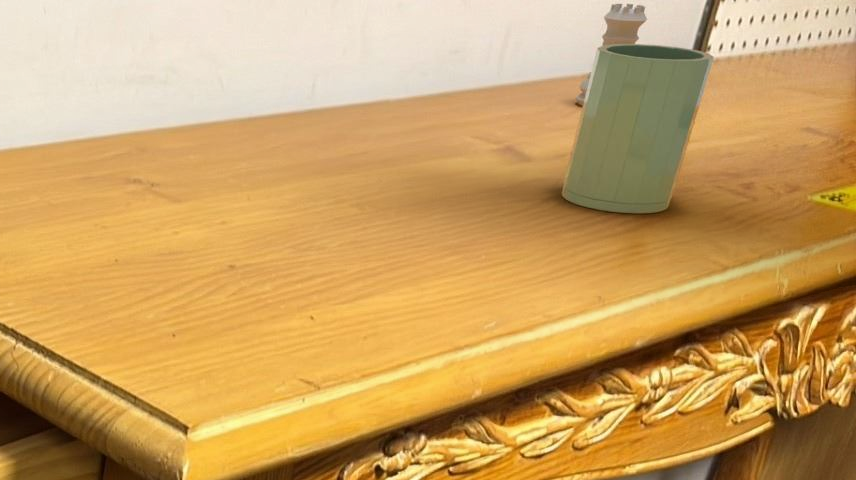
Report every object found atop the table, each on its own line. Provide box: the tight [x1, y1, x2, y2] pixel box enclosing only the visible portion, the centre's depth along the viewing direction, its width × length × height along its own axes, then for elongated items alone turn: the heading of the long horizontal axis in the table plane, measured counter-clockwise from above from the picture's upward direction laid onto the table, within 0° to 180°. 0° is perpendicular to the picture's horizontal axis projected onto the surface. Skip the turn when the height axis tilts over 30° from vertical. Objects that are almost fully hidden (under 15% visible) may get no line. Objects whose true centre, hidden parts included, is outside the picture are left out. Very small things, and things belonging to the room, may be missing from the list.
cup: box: [561, 43, 715, 215], centre depth 76 cm, size 6×6×9 cm
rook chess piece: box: [575, 3, 648, 107], centre depth 102 cm, size 4×4×8 cm
